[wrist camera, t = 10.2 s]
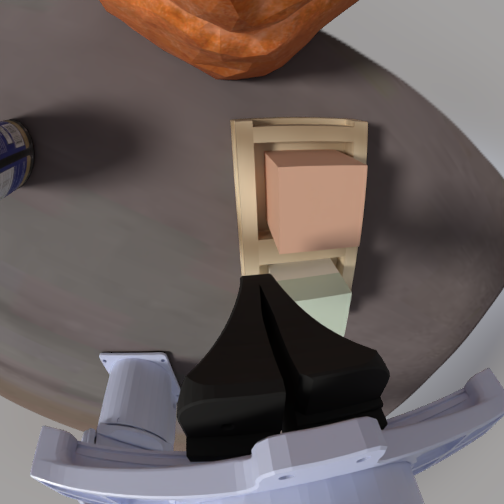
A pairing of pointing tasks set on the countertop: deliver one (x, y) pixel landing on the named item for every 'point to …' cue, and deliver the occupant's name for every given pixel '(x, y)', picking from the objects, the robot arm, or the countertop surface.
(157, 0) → the bread
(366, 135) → the socket board
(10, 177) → the pill bottle
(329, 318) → the two tone brick
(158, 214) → the countertop surface
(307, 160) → the terracotta brick
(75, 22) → the countertop surface
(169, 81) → the countertop surface
